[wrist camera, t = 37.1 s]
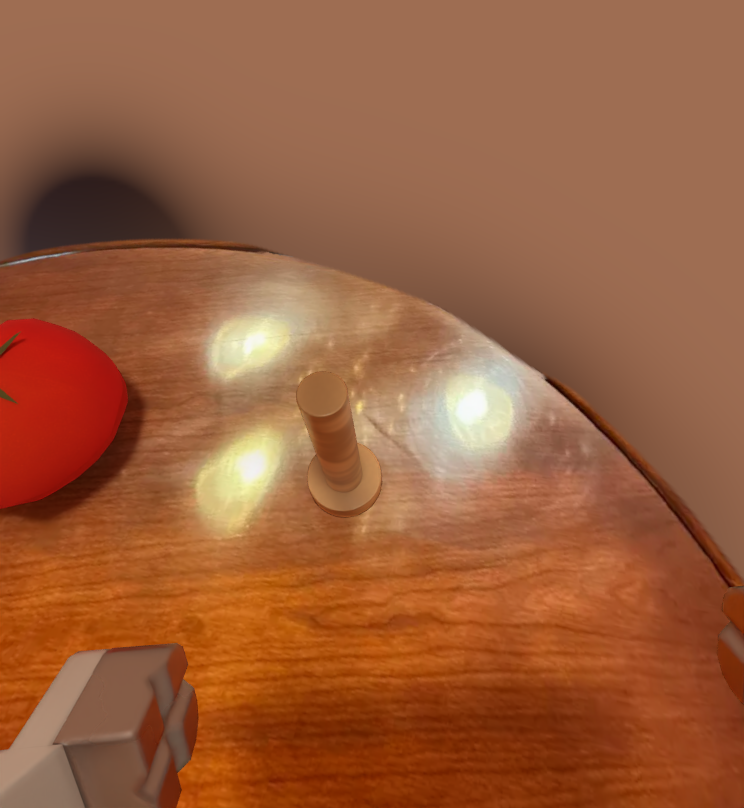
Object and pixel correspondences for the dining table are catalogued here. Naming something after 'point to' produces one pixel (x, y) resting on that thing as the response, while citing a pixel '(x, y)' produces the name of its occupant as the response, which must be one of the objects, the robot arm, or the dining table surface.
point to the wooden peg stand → (336, 448)
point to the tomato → (52, 408)
